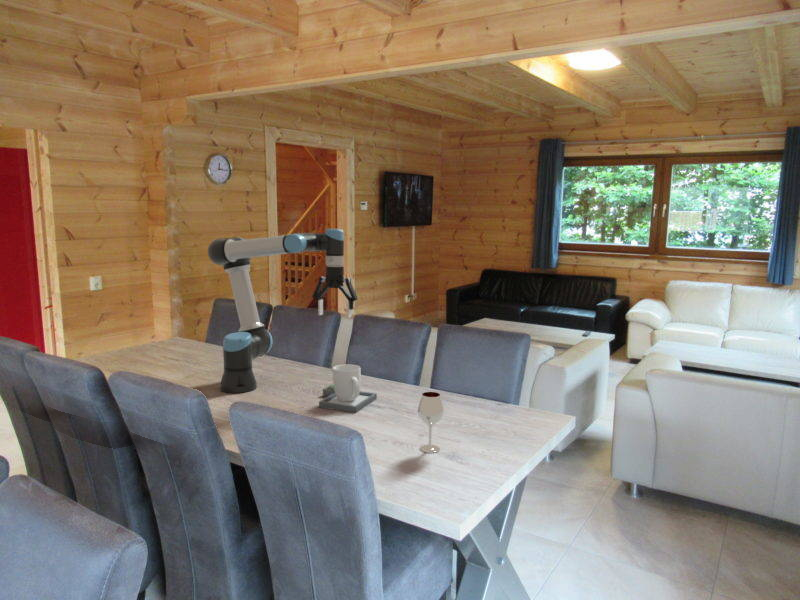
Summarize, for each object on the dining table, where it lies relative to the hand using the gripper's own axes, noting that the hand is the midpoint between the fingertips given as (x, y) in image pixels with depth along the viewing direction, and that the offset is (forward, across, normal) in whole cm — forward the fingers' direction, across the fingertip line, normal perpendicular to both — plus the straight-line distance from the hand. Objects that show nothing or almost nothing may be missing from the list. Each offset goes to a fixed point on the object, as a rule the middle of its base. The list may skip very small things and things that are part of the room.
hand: (334, 316), depth 246 cm
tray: (+32, +14, -15) cm, 38 cm away
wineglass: (+32, +59, -47) cm, 82 cm away
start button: (+30, +4, -8) cm, 31 cm away
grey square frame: (+32, +4, -8) cm, 33 cm away
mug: (+31, +14, -15) cm, 37 cm away
